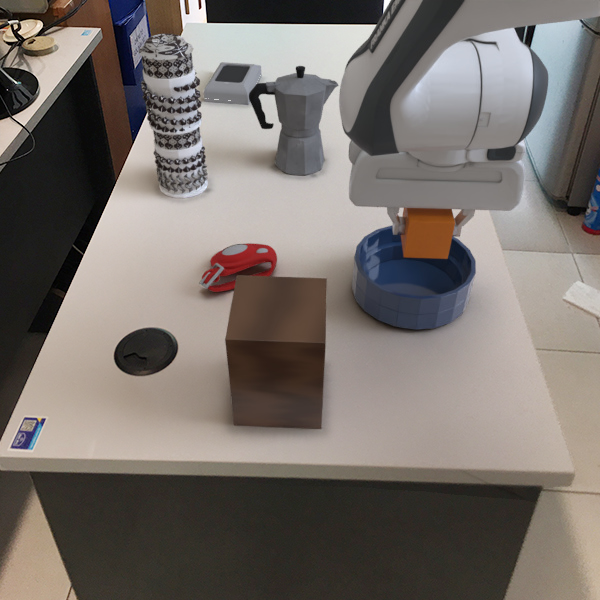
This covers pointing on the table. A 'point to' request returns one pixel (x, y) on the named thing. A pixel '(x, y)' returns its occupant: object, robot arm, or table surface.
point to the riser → (277, 351)
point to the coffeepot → (296, 119)
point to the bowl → (411, 282)
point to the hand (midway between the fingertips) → (425, 233)
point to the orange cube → (427, 233)
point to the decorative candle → (174, 114)
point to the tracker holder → (237, 264)
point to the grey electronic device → (232, 83)
